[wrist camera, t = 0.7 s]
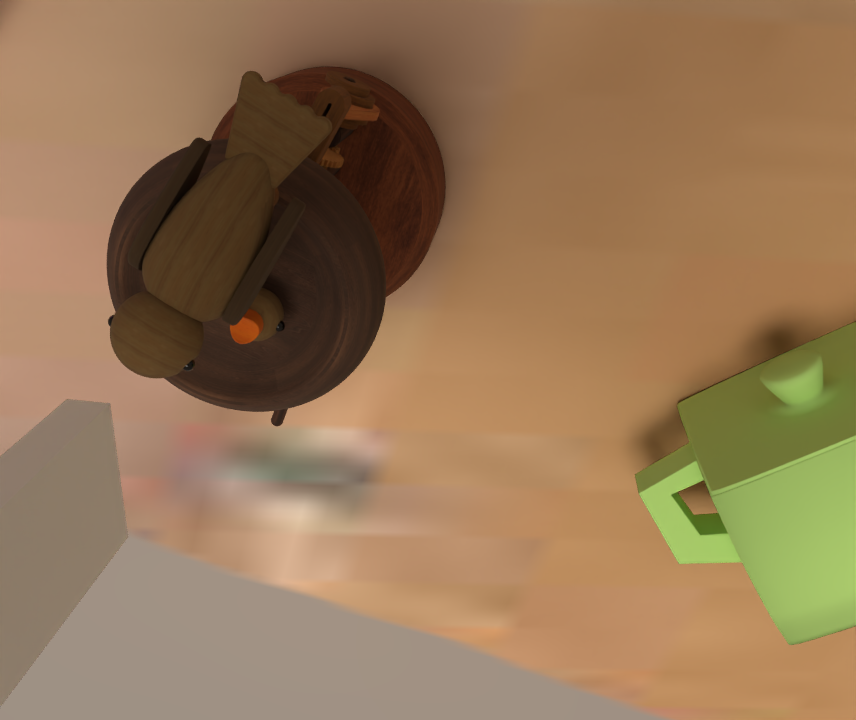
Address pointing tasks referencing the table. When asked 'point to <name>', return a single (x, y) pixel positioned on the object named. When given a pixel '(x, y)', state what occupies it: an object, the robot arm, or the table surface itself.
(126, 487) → the table surface
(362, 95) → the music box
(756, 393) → the green square kettle
